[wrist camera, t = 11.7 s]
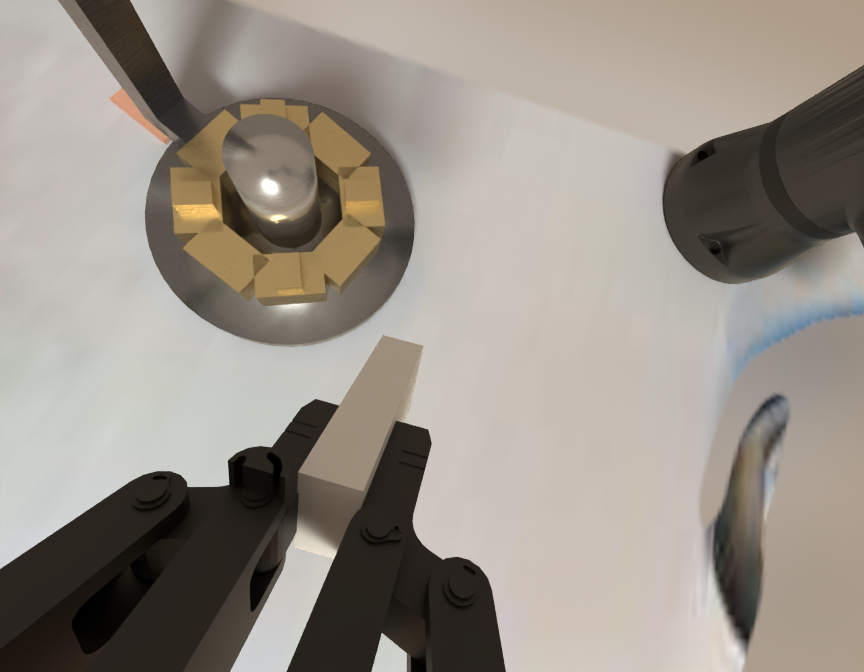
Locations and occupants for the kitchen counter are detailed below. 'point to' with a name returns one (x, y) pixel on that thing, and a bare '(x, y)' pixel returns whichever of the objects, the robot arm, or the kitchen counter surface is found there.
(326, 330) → the flange
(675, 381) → the kitchen counter surface
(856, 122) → the robot arm
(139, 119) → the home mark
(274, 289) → the geared hub with post
